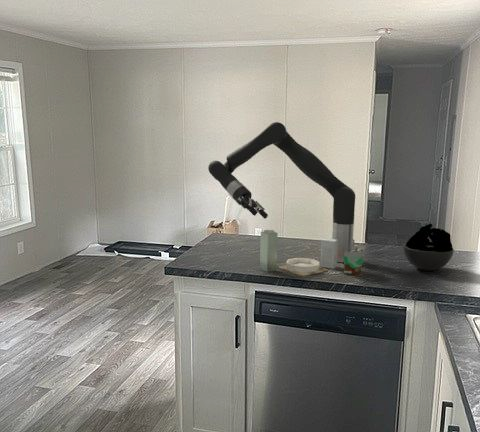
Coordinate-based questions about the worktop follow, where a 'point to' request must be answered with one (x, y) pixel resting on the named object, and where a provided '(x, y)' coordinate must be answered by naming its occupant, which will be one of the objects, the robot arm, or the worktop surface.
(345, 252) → the food container
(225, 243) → the worktop surface
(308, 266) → the bowl
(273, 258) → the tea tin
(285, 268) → the board
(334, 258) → the skincare box
